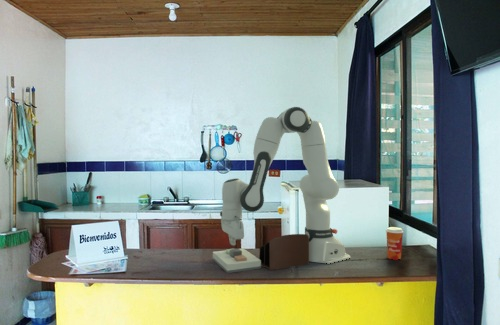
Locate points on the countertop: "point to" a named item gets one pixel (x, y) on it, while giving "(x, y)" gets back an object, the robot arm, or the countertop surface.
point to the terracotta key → (240, 258)
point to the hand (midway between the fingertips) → (232, 244)
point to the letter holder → (285, 252)
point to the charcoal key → (235, 252)
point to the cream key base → (234, 266)
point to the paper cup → (394, 242)
